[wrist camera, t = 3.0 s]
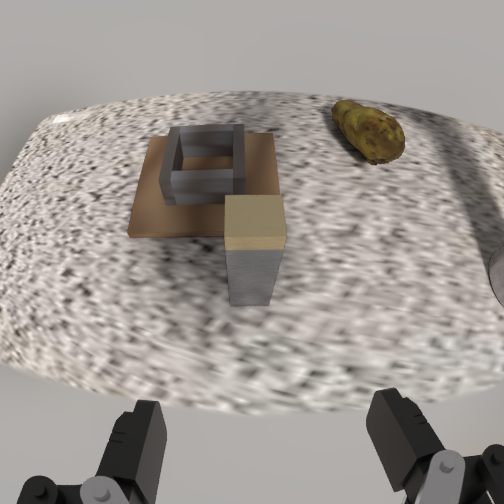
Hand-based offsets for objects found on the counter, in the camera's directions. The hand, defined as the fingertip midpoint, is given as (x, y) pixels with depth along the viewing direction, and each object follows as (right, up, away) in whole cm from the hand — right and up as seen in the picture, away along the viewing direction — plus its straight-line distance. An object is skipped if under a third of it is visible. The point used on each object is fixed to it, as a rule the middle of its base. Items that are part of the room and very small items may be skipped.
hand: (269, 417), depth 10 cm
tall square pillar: (-1, +2, +18) cm, 19 cm away
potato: (+14, +20, +29) cm, 38 cm away
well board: (-6, +14, +25) cm, 29 cm away
